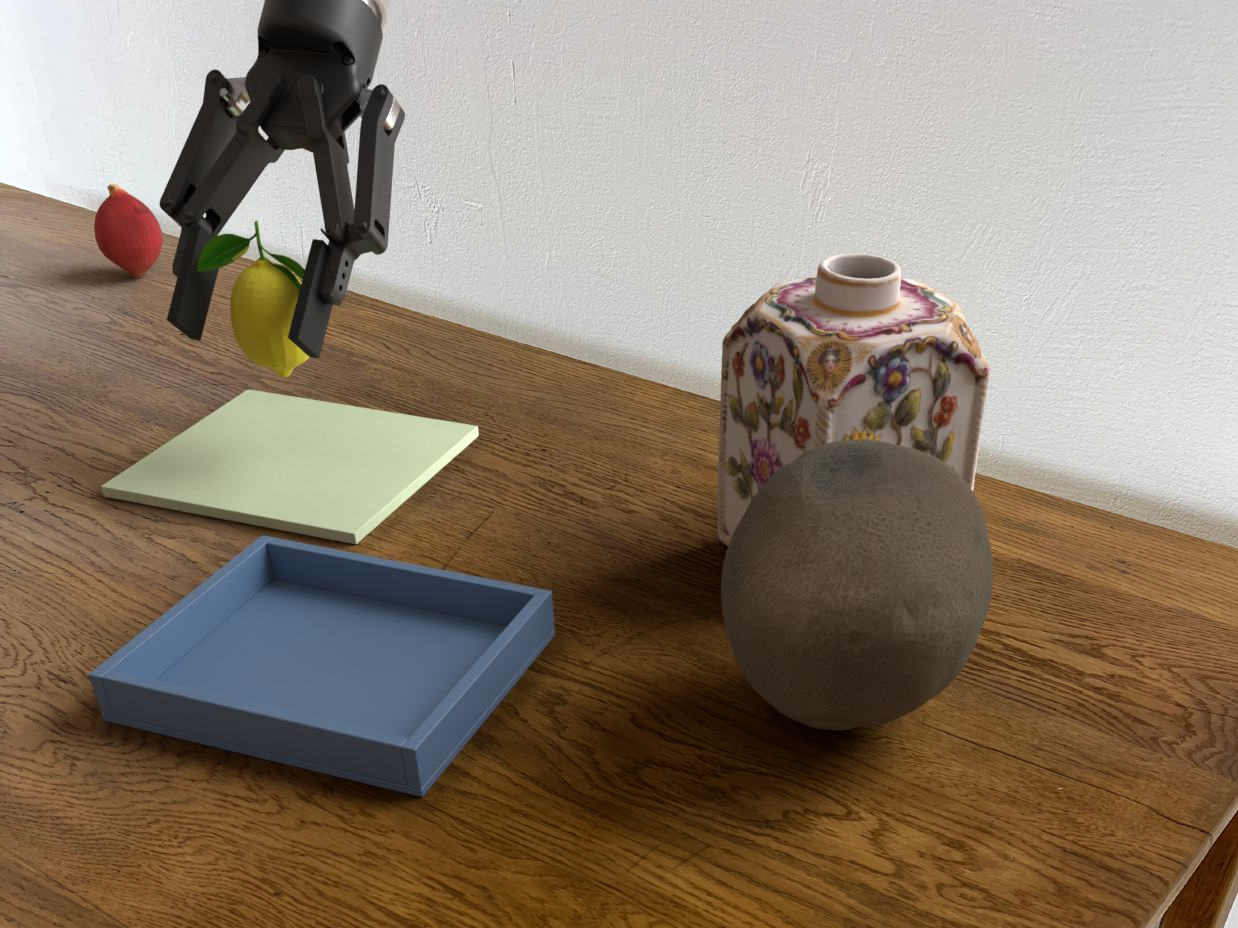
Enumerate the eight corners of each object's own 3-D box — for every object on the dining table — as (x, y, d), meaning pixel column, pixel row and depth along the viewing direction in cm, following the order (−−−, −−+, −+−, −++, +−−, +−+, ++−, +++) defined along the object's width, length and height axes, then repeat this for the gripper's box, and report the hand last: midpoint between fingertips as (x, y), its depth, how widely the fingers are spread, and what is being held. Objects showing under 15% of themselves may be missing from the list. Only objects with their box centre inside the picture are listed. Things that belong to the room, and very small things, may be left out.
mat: (103, 497, 94) (100, 486, 94) (250, 399, 107) (247, 388, 106) (356, 545, 89) (354, 533, 88) (479, 436, 101) (478, 425, 101)
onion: (155, 262, 131) (133, 171, 125) (181, 277, 127) (159, 184, 122) (97, 275, 128) (71, 182, 123) (121, 291, 125) (97, 196, 119)
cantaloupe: (660, 708, 75) (658, 447, 65) (841, 622, 82) (865, 373, 72) (843, 833, 67) (873, 558, 57) (1027, 726, 74) (1083, 463, 64)
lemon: (219, 373, 94) (185, 218, 87) (294, 351, 97) (267, 200, 90) (268, 403, 90) (235, 244, 83) (344, 380, 93) (319, 224, 86)
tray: (103, 720, 74) (87, 674, 72) (271, 578, 86) (261, 534, 84) (422, 797, 69) (414, 750, 67) (555, 635, 81) (552, 590, 79)
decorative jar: (712, 540, 89) (717, 250, 77) (861, 502, 93) (888, 221, 81) (807, 624, 81) (830, 316, 69) (965, 579, 85) (1013, 280, 73)
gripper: (496, 55, 90) (412, 386, 90) (222, 34, 95) (142, 345, 95) (449, -27, 83) (358, 332, 82) (157, -46, 88) (70, 291, 88)
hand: (243, 339), depth 89 cm, fingers closed on lemon, 8 cm apart
